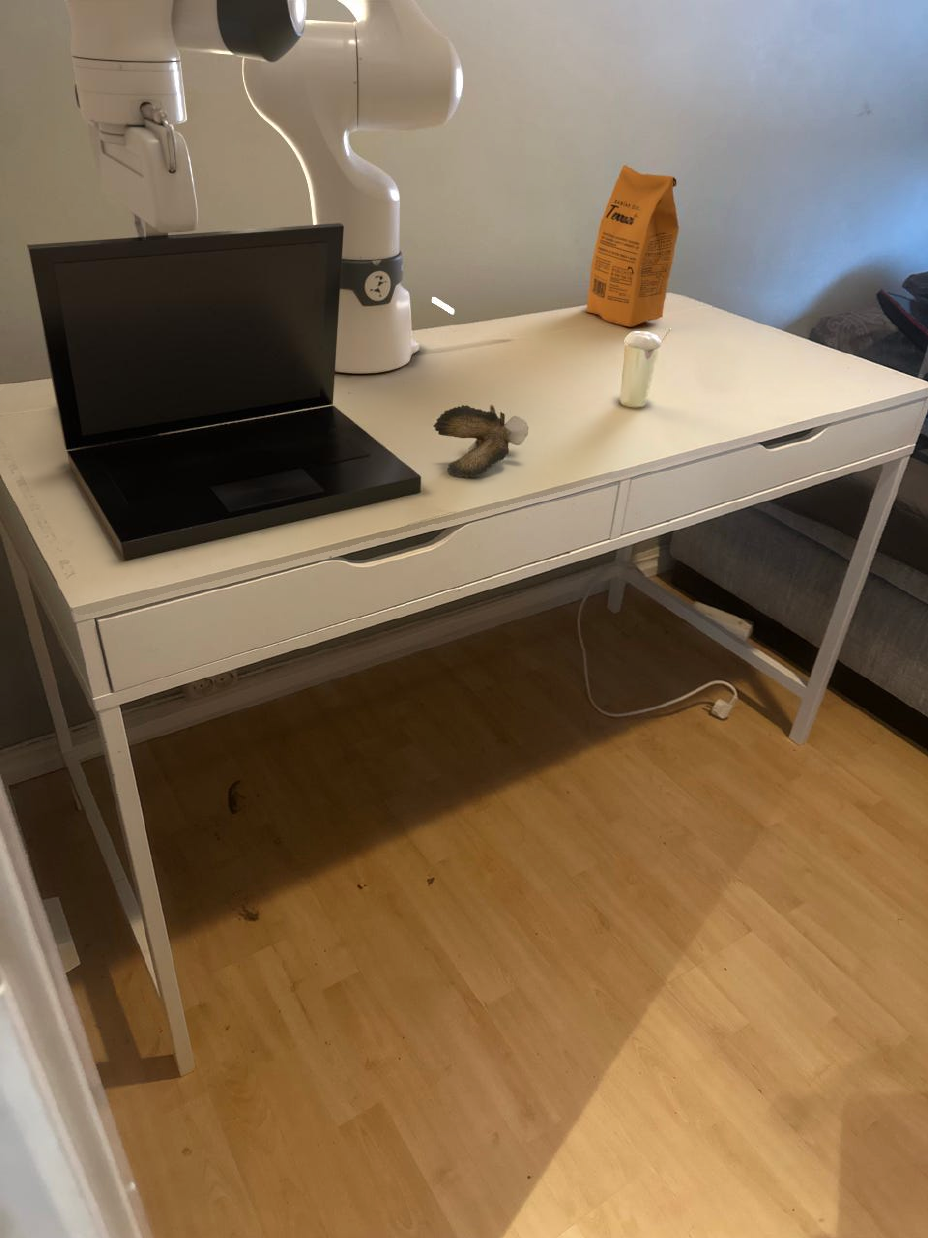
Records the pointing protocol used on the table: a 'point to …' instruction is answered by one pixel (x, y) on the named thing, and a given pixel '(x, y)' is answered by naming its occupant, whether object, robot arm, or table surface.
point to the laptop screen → (188, 328)
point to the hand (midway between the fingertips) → (155, 263)
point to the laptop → (235, 478)
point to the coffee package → (634, 249)
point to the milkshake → (638, 367)
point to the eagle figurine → (480, 437)
